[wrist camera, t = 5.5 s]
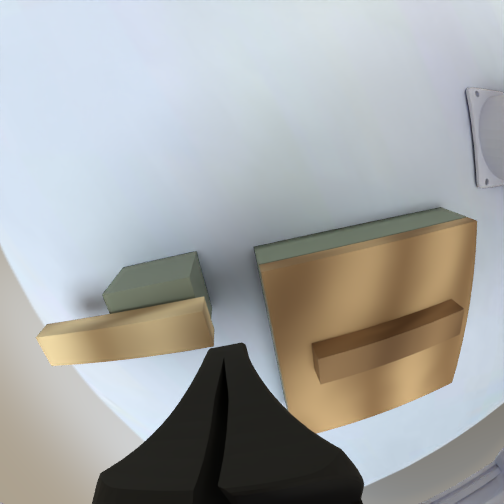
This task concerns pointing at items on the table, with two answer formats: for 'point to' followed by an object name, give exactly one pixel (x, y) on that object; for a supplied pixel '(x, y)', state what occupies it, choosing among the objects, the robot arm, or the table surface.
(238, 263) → the table surface
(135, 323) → the light wooden bar
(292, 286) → the lid
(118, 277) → the block
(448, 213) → the green piece
